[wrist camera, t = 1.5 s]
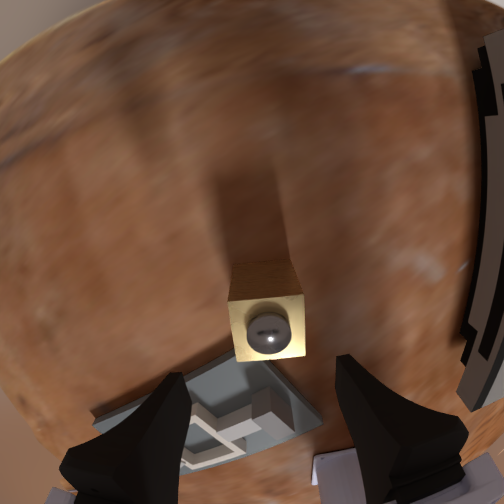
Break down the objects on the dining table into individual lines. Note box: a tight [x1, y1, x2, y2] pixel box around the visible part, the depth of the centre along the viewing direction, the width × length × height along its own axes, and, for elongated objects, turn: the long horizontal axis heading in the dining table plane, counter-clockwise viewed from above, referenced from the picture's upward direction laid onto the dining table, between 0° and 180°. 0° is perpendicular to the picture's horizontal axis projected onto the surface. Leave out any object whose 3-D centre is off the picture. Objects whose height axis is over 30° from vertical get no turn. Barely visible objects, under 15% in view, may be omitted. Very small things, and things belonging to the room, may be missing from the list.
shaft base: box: [92, 348, 323, 476], centre depth 24 cm, size 22×12×4 cm, turn 126°
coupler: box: [227, 259, 305, 362], centre depth 19 cm, size 4×4×7 cm
